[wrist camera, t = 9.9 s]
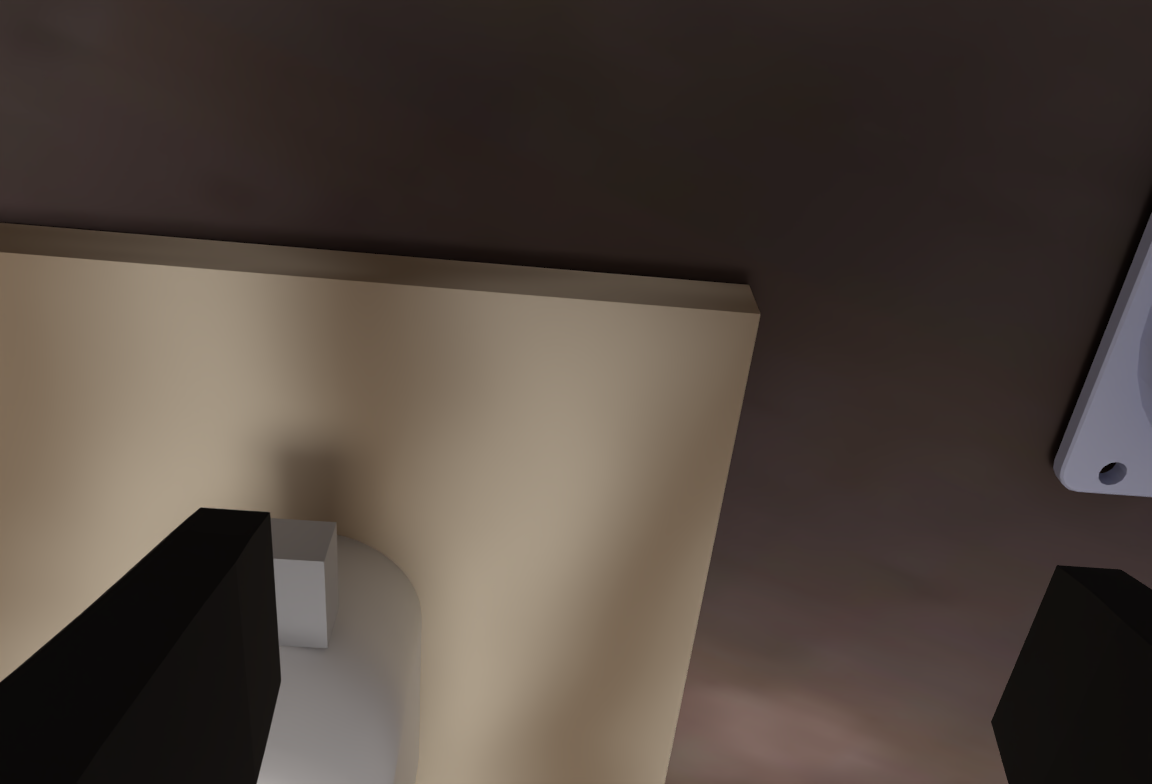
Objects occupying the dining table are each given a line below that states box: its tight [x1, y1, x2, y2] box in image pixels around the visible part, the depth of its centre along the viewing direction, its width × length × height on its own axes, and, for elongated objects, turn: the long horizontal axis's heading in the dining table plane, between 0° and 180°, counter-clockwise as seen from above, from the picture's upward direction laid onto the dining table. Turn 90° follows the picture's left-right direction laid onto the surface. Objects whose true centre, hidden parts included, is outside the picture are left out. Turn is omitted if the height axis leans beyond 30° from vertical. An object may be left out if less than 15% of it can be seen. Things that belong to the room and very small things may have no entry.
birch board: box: [0, 223, 761, 784], centre depth 22 cm, size 15×19×1 cm
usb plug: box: [257, 518, 422, 784], centre depth 18 cm, size 4×10×5 cm, turn 175°
